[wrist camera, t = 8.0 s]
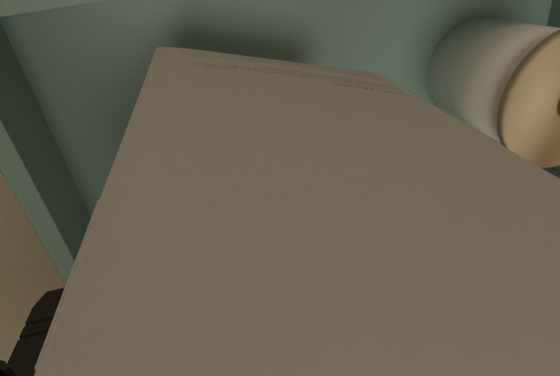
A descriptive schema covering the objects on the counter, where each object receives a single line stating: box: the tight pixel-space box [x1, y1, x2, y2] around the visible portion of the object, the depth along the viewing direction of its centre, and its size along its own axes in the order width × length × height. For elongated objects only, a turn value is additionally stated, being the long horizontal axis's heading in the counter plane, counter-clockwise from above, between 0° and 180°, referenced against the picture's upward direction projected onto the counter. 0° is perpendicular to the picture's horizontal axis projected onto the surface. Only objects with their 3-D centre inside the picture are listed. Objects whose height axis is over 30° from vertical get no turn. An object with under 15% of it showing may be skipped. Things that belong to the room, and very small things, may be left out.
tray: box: [0, 0, 560, 285], centre depth 22 cm, size 32×16×5 cm, turn 97°
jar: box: [427, 17, 560, 142], centre depth 22 cm, size 6×6×7 cm
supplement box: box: [34, 47, 560, 376], centre depth 10 cm, size 9×9×15 cm
